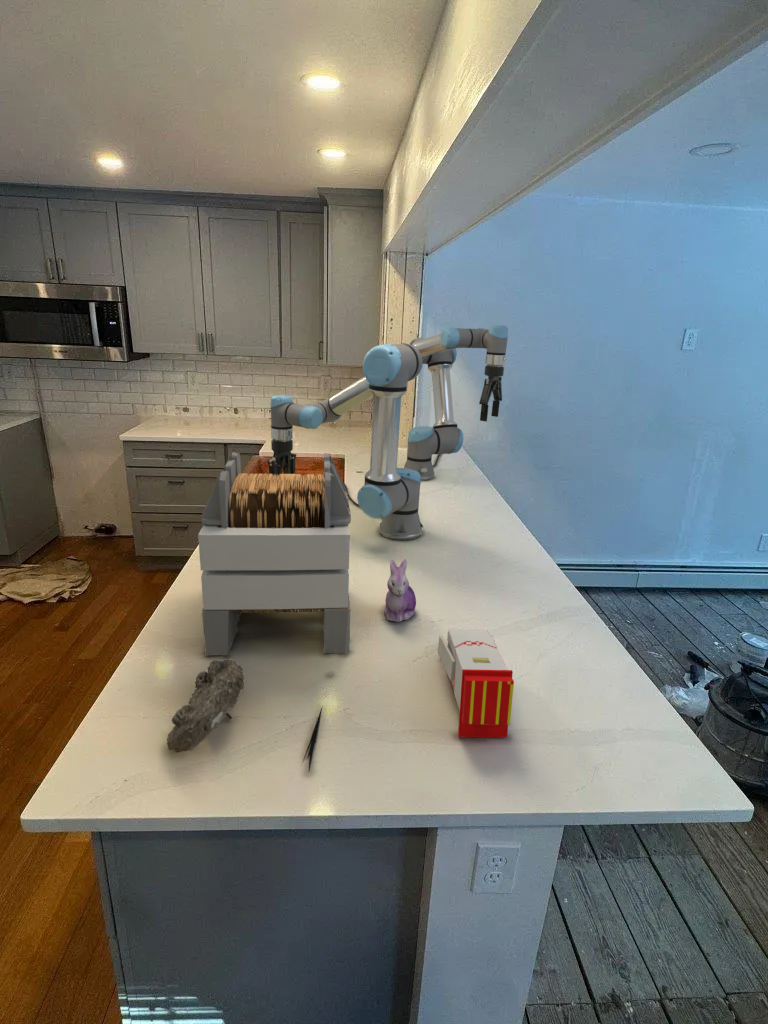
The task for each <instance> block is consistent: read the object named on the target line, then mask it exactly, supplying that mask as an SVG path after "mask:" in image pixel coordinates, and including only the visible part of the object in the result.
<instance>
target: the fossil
mask: <svg viewBox="0 0 768 1024" xmlns="http://www.w3.org/2000/svg"><path fill="white" fill-rule="evenodd" d="M243 670H244V669H243V667H242V665H240V664H237V662H236V661H235V660H234V659H232V658H231V659H227V658H226V659H224V660H223V661H222V660H217V659H212V660H211V661H210V663H209V665H208V666H207V671H201V672H199V673H198V674H197V675H196V676H195V680H194V684H195V685H194V687H195V689H194V690H193V693H192V694H191V697H190V698H189V700H188V704H184V705H182V706H181V707H180V709H177V710H176V711H175V713H174V715H173V716H172V718H171V723H172V724H173V727H172V730H171V731H170V732H168V734H167V738H166V741H167V742H166V745H167V749H168V750H169V751H173V752H174V753H176V754H178V753H182V752H188V751H189V752H192V751H193V750H195V748H196V747H197V746H199V744H200V743H201V742H203V741H204V740H205V739H206V738H207V737H208V736H209V735H210V734H211V733H212V732H214V730H215V729H217V727H218V726H219V724H220V722H221V721H222V720H223V719H224V718H225V716H226V717H227V719H229V720H233V717H232V715H230V714H229V710H230V709H231V708H234V706H235V704H236V703H237V702H238V699H239V697H240V695H241V693H242V691H243V690H245V689H244V688H245V675H244V671H243Z"/></svg>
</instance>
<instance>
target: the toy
mask: <svg viewBox="0 0 768 1024" xmlns="http://www.w3.org/2000/svg"><path fill="white" fill-rule="evenodd" d="M446 640H447V643H446V641H445V639H444V636H443V635H442V634H439V637H438V646H437V656H438V657H439V659H440V661H441V663H442V666H443V668H444V670H445V672H446V674H447V677H448V679H449V681H450V684H451V687H452V690H453V693H454V697H455V701H456V705H457V708H458V711H459V714H458V715H459V716H458V730H457V731H458V732H457V737H458V738H508V731H509V726H510V725H511V717H512V707H513V697H514V696H513V695H514V684H515V680H514V679H513V673H514V671H513V670H512V669H508V667H507V665H506V662H505V661H504V659H503V658H502V655H501V653H500V651H499V649H498V647H497V643H496V639H495V637H494V635H493V634H491V632H490V631H489V629H467V628H466V629H465V628H463V629H461V628H460V629H459V628H448V630H447V639H446Z"/></svg>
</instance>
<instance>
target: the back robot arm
mask: <svg viewBox="0 0 768 1024" xmlns="http://www.w3.org/2000/svg"><path fill="white" fill-rule="evenodd" d="M508 338H509V327H508V326H507V325H503V324H490V325H489V326H488V328H487V329H486V328H463V327H459V328H458V327H446V328H444V329H443V330H442V331H441V332H439V333H437V334H433V335H430V336H428V337H417V338H414V339H413V340H411V341H410V343H409V344H410V345H412V346H414V347H415V348H417V349H418V351H419V352H420V354H421V356H422V361H423V362H422V365H427V370H428V371H430V372H431V383H432V393H433V406H434V407H433V408H434V418H435V420H434V421H435V423H434V424H433V425H432V426H429V425H425V426H424V425H421V426H415V427H412V428H411V429H409V431H408V434H407V447H406V448H407V449H406V450H407V452H406V461H405V464H404V466H403V468H405V469H411V470H415V471H417V472H419V474H420V481H421V482H426V481H427V482H428V481H431V480H433V479H435V471H434V467H436V465H437V463H438V460H439V457H440V456H441V455H451V454H456V453H458V452H459V451H460V450H461V449H462V447H463V445H464V432H463V430H462V429H461V428H459V427H458V423H457V422H456V421H455V420H454V419H455V418H454V407H453V405H454V404H453V393H452V382H451V369H452V368H453V367H454V366H453V365H454V363H455V362H456V360H457V354H458V352H457V349H484V350H486V353H485V354H486V355H485V367H484V376H487V378H484V381H483V382H484V383H483V387H482V391H481V394H480V399H479V403H478V404H479V405H480V416H479V421H480V422H488V415H489V406H490V405H489V402H490V399H491V397H493V400H492V407H491V414H490V415H491V417H495V418H497V417H499V411H500V403H501V402H502V401H503V389H502V377H504V373H505V367H504V366H505V364H506V363H505V362H506V360H507V357H506V353H507V347H508V345H507V344H508ZM433 455H437V457H436V459H435V462H434V464H433V461H432V460H433V459H432V458H433Z"/></svg>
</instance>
